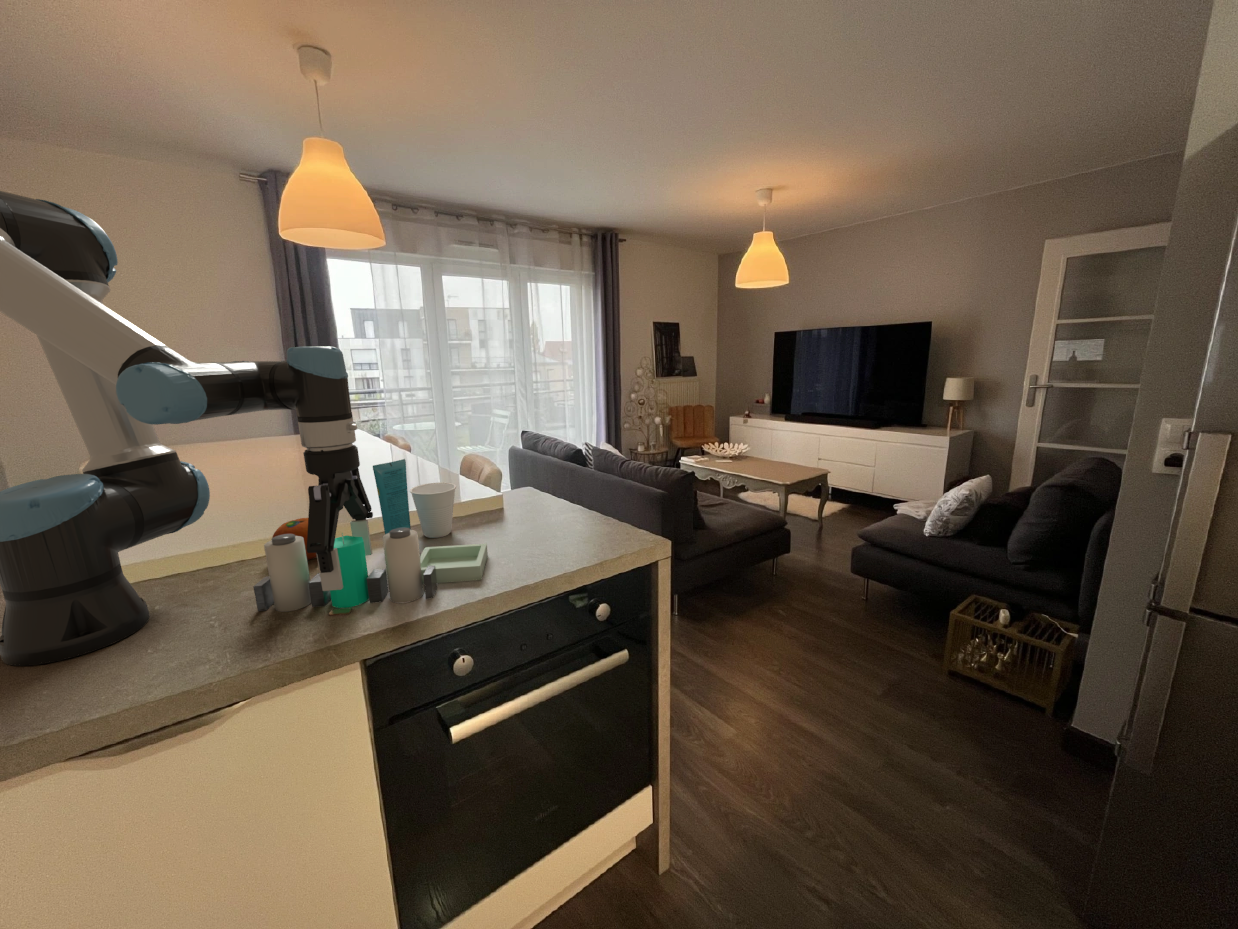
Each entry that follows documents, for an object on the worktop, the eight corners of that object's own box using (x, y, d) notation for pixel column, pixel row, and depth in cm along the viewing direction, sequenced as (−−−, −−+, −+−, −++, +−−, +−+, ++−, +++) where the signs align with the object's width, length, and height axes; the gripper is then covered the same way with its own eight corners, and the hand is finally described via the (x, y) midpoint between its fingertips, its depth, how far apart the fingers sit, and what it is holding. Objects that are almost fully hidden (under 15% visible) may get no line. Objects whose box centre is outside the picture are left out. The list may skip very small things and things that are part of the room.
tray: (412, 584, 90) (411, 570, 89) (426, 560, 100) (425, 547, 100) (481, 580, 91) (480, 565, 91) (487, 556, 102) (486, 543, 101)
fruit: (327, 544, 109) (322, 509, 108) (342, 557, 102) (337, 520, 100) (269, 558, 102) (263, 521, 100) (281, 573, 95) (274, 534, 93)
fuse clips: (245, 622, 78) (240, 596, 77) (269, 600, 84) (265, 576, 83) (428, 608, 81) (425, 583, 80) (437, 588, 88) (435, 565, 87)
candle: (354, 609, 81) (344, 540, 78) (322, 606, 82) (312, 538, 80) (378, 592, 87) (370, 527, 84) (348, 589, 88) (339, 525, 85)
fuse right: (385, 604, 83) (377, 537, 80) (395, 589, 88) (387, 526, 85) (419, 601, 84) (412, 535, 81) (426, 587, 89) (420, 524, 86)
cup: (416, 529, 118) (411, 484, 116) (459, 524, 121) (456, 480, 119) (412, 543, 109) (407, 495, 107) (460, 538, 112) (456, 491, 109)
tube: (405, 542, 110) (396, 457, 106) (421, 545, 108) (413, 459, 104) (376, 554, 103) (365, 464, 99) (393, 558, 101) (383, 466, 97)
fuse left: (268, 613, 80) (255, 544, 78) (285, 597, 86) (274, 532, 83) (304, 610, 81) (293, 542, 78) (318, 594, 86) (308, 530, 84)
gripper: (321, 461, 67) (344, 604, 72) (380, 433, 91) (394, 541, 96) (261, 464, 66) (288, 609, 71) (336, 435, 90) (353, 545, 95)
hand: (349, 571), depth 83 cm, fingers open, 13 cm apart
